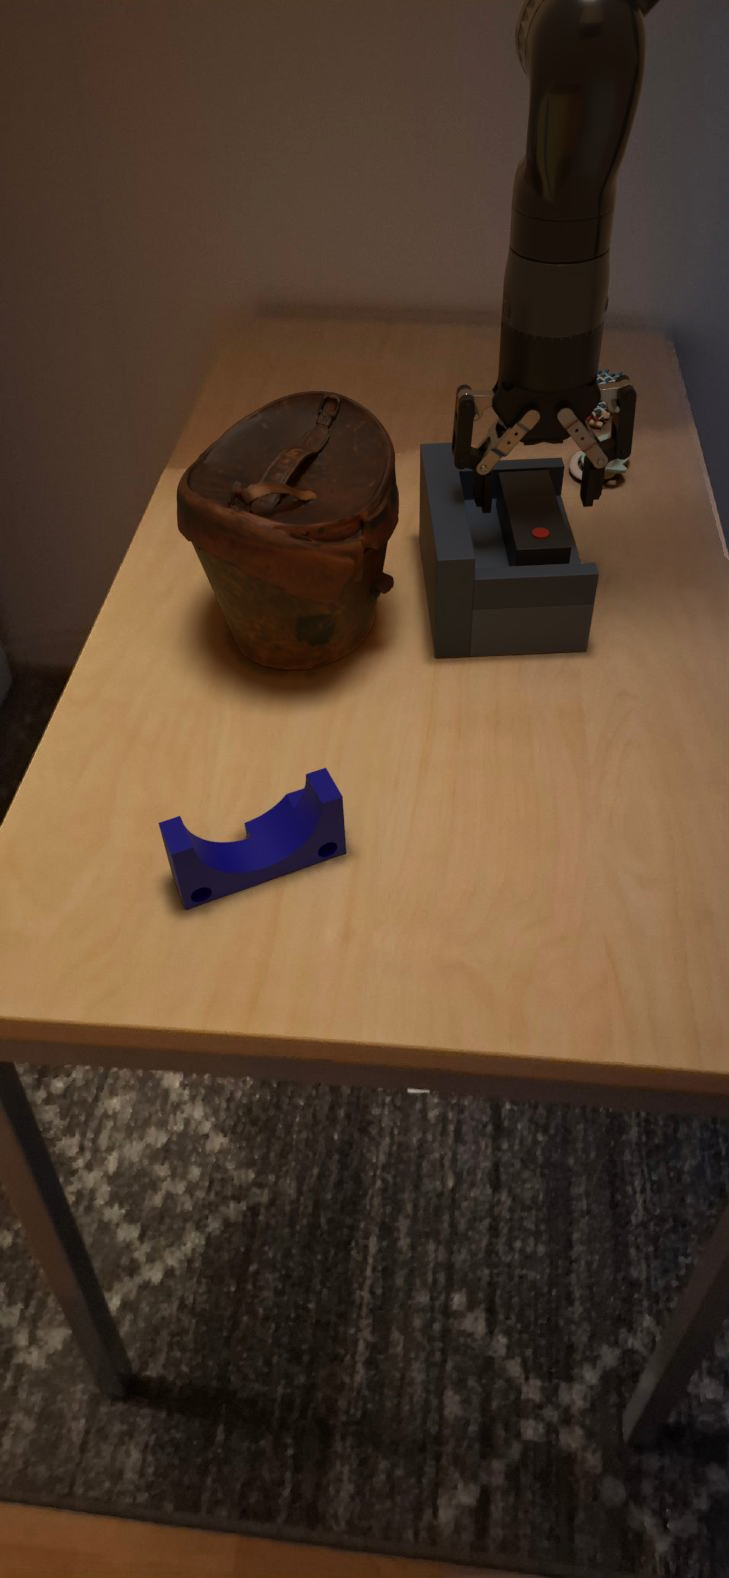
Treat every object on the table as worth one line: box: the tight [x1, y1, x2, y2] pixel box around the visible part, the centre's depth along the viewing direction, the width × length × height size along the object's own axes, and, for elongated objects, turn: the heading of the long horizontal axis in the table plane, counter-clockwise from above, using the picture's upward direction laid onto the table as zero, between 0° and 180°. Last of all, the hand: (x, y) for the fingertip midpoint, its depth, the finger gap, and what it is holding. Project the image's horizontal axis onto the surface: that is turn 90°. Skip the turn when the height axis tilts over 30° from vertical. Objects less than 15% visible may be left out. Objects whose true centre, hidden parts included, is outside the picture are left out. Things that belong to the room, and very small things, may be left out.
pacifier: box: [568, 428, 631, 481], centre depth 106 cm, size 7×6×6 cm
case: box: [176, 390, 400, 670], centre depth 86 cm, size 18×20×18 cm
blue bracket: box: [158, 767, 347, 911], centre depth 72 cm, size 12×4×6 cm, turn 114°
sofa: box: [418, 441, 600, 659], centre depth 91 cm, size 13×18×10 cm
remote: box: [496, 470, 571, 566], centre depth 90 cm, size 4×12×4 cm, turn 2°
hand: (535, 505), depth 88 cm, fingers open, 8 cm apart
